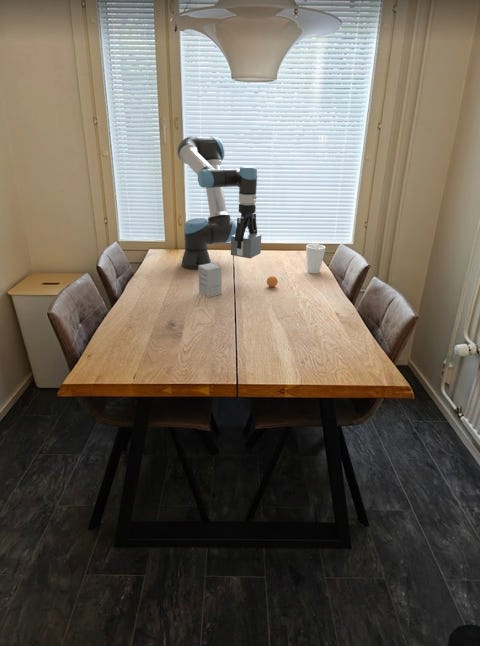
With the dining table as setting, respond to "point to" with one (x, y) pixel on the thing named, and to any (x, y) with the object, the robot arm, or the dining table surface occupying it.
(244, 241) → the grey square block
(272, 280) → the orange egg
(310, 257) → the foam cup
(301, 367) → the dining table surface
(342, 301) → the dining table surface
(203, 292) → the supplement box
